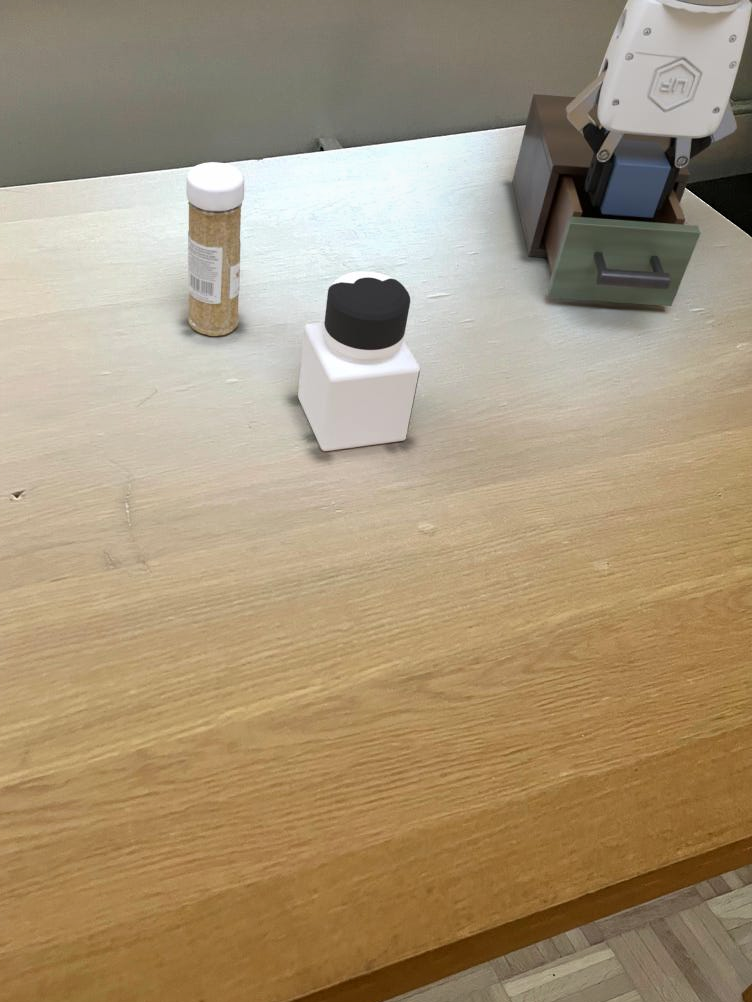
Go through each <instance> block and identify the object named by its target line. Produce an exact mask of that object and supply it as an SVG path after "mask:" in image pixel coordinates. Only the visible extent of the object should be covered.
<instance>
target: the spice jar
mask: <svg viewBox="0 0 752 1002" xmlns="http://www.w3.org/2000/svg"><path fill="white" fill-rule="evenodd" d="M185 191H186V199H187V201H188V202H187V204H188V231H187V263H188V264H187V269H188V270H187V281H188V285H187V286H188V288H187V289H188V293H189V295H188V296H189V297H188V298H189V299H188V300H189V301H188V302H189V306H188V307H189V309H188V311H189V313H188V315H187V321H188V324H189V326H190V327H191V328H192V330H194V331H196V332H198V333H200V334H202V335H205V336H211V337H218V336H225V335H228V334H230V333H232V332H233V331H234V330H236V328H237V327H238V325H239V323H240V315H239V295H240V294H239V293H240V289H241V288H240V287H241V286H240V283H241V282H240V281H241V279H240V278H241V245H242V243H241V221H242V219H241V218H242V206H243V201H244V199H245V175H244V174H243V172H242V171H241V170H240V169H239V168H237V167H235V166H234V165H232V164H228V163H225V162H216V161H209V162H203V163H200V164H196V165H195V166H193V167H191V168H190V169H189V171H188V172H187V174H186V189H185Z"/></svg>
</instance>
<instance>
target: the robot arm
mask: <svg viewBox="0 0 752 1002" xmlns="http://www.w3.org/2000/svg"><path fill="white" fill-rule="evenodd" d="M751 15H752V2H751V1H750V0H627V2H626V4H625V6H624V8H623V10H622V12H621V14H620V17H619V19H618V21H617V23H616V26H615V28H614V30H613V33H612V36H611V38H610V41H609V44H608V46H607V49H606V52H605V54H604V57H603V60H602V63H601V66H600V69H599V72H598V75H597V77H596V78H595V79H594V80H593V81H592V82H591V83H590V84H588V86H586V87H585V88H584V89H583V90H582V91H581V92H580V93H579V94H578V95H577V96H575V97H576V98H575V99H574V100H573V101H572V102H571V103H570V104H569V105H568V106H567V107H566V109H565V112H566V115H567V119H568V120H569V121H570V122H571V124H572V125H573V126H574V127H575V128H576V129H577V130H578V131H579V132H580V133H581V134H582V135H583V136H584V138H585V140H586V141H587V143H588V144H589V146H590V147H591V149H592V150H593V152H594V154H593V157H592V160H591V164H590V167H589V170H588V174H587V177H586V181H585V191H586V192H588V193H589V196H590V199H591V202H592V206H593V207H599V206H600V205H602V202H603V199H604V196H605V193H606V189H607V186H608V183H609V180H610V177H611V174H612V171H613V167H614V164H613V161H612V156H613V152H614V151H615V149H616V147H617V145H618V144H619V142H620V140H621V139H622V137H623V135H624V133H626V134H638V135H650V136H663V137H669V144H668V148H667V149H666V151H664V153H665V155H666V158H667V160H668V162H669V165H670V167H671V169H670V171H669V174H668V177H667V180H666V183H665V185H664V188H663V191H662V194H661V196H660V199H659V202H658V205H657V208H656V210H655V211H660V210H661V208H662V205H663V202H664V199H665V198H669V197H670V195H671V193H672V190H673V187H674V185H675V182H676V179H677V176H678V174H679V171H680V168H683V167H685V166H686V167H687V166H688V164H689V163H690V160H692V159H693V158H695V156H698V155H699V154H700V153H702V152H703V151H705V150H706V149H708V148H709V147H710V146H711V144H713V143H717V142H718V141H720V140H722V139H724V138H726V137H728V136H729V135H732V134H733V133H734V132H736V130H737V128H738V123H737V121H736V118H735V115H734V111H733V107H732V106H731V101H730V98H731V93H732V91H733V87H734V84H735V80H736V77H737V74H738V71H739V66H740V63H741V59H742V56H743V52H744V48H745V43H746V39H747V34H748V31H749V26H750V20H751ZM595 106H596V107H598V119H599V121H600V123H601V125H600V127H598V125H597V124H596V122H595V120H594V119H592V118H591V117H590V116H589V114H588V113H589V112H590V110H591V109H592V108H593V107H595Z"/></svg>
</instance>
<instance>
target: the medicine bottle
mask: <svg viewBox="0 0 752 1002" xmlns="http://www.w3.org/2000/svg"><path fill="white" fill-rule="evenodd" d="M325 305H326V306H325V313H324V321H320V322H312V323H311V322H309V323H306V324H305V325H304V328H303V329H304V330H303V339H302V341H303V342H302V351H301V358H300V359H301V361H300V372H299V381H298V382H299V383H298V392H297V399H298V400H299V403H300V405H301V407H302V410H303V411H304V414H305V416H306V418H307V420H308V422H309V425H310V427H311V430H312V431H313V434H314V436H315V439H316V441H317V443H318V445H319V447H320V449H321V451H323V452H331V451H337V450H338V451H339V450H345V449H352V448H359V447H367V446H373V445H374V446H375V445H381V444H389V443H397V442H402V441H403V442H404V441H406V439H407V437H408V432H409V427H410V423H411V418H412V412H413V408H414V402H415V398H416V392H417V388H418V383H419V377H420V373H421V367H420V364H419V362H418V361H417V359H416V358H415V356H414V354H413V352H412V350H411V349H410V347H409V345H408V343H407V342H406V340H405V333H406V329H407V322H408V318H409V311H410V307H411V296H410V293H409V291H408V290H407V288H406V287H405V286H404V285H403V284H402V283H401V282H400V281H398V280H397V279H395V278H394V277H392V276H390V275H387V274H384V273H380V272H376V271H367V270H363V271H362V270H361V271H359V270H358V271H352V272H348V273H346V274H343V275H341V276H339V277H338V278H337V279H335V280H334V281H333V282H332V283H330V285H329V287H328V289H327V296H326V304H325Z"/></svg>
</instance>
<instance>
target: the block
mask: <svg viewBox="0 0 752 1002" xmlns="http://www.w3.org/2000/svg"><path fill="white" fill-rule="evenodd" d="M612 161H613V164H614V167H613V171H612V174H611V177H610V180H609V183H608V186H607V189H606V193H605V196H604V199H603V202H602V205H600V206H599V207H600V210H601V213H602V214H606V215H620V216H633V217H646V218H653V216H654V213H655V210H656V208H657V205H658V202H659V199H660V196H661V194H662V191H663V188H664V185H665V183H666V180H667V177H668V174H669V171H670V169H671V167H670V165H669V162H668V160H667V158H666V155H665V153H664V151H663V148H662V146H661V143H659V142H646V141H633V140H620V142H619V144H618V145H617V147H616V149H615V151H614V152H613V156H612Z"/></svg>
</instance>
